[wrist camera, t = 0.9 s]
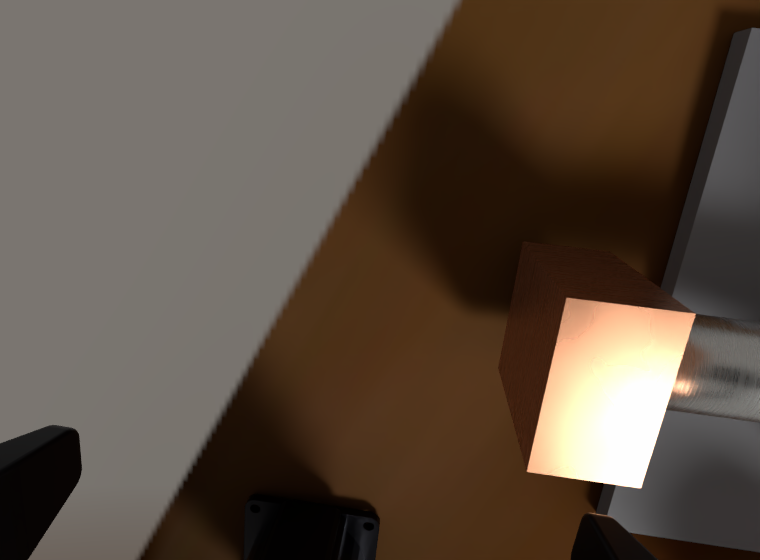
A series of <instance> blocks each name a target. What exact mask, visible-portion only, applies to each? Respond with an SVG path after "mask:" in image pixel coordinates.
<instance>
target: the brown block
mask: <svg viewBox="0 0 760 560" xmlns="http://www.w3.org/2000/svg"><path fill="white" fill-rule="evenodd" d="M498 369H499V373H500V376H501V380H502V383H503V387H504V391H505V394H506V398H507V402H508V405H509V409H510V412H511V416H512V420H513V423H514V427H515V431H516V434H517V438H518V442H519V445H520V449H521V452H522V456H523V460H524V463H525V467H526V471H527V472H532V473H539V474H546V475H553V476H560V477H566V478H573V479H580V480H587V481H594V482H601V483H607V484H614V485H621V486H628V487H635V488H641V486H642V483H643V480H644V477H645V473H646V470H647V467H648V464H649V461H650V458H651V455H652V451H653V448H654V445H655V442H656V439H657V436H658V432H659V429H660V426H661V423H662V420H663V417H664V413H665V410H670V411H677V412H684V413H692V414H699V415H706V416H714V417H721V418H728V419H735V420H743V421H750V422H757V423H760V322H757V321H749V320H741V319H733V318H725V317H717V316H709V315H701V314H695V313H694V312H693V311H691V310H690V309H689V308H687V307H686V306H684V305H683V304H682V303H680V302H679V301H677V300H676V299H675V298H673V297H672V296H671V295H669V294H668V293H666V292H665V291H664V290H662V289H661V288H659V287H658V286H657V285H655V284H654V283H653V282H651V281H650V280H648V279H647V278H646V277H644V276H643V275H641V274H640V273H639V272H637V271H636V270H635V269H633V268H632V267H630V266H629V265H628V264H626V263H625V262H623V261H622V260H621V259H619V258H618V257H617V256H615V255H614V254H612V253H611V252H609V251H601V250H592V249H584V248H576V247H567V246H559V245H551V244H542V243H534V242H525V241H523V243H522V248H521V253H520V258H519V264H518V269H517V274H516V279H515V284H514V290H513V295H512V300H511V305H510V310H509V315H508V321H507V326H506V331H505V336H504V341H503V346H502V352H501V357H500V362H499V367H498Z"/></svg>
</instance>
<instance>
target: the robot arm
mask: <svg viewBox="0 0 760 560" xmlns="http://www.w3.org/2000/svg"><path fill="white" fill-rule="evenodd" d="M81 471H82V464H81V452H80V440H79V434H78V432H77V431H76V430H75V429H73V428H69V427H63V426H57V425H51V426H47V427H44V428H41V429H39V430H36V431H33V432H30V433H28V434H25V435H22V436H19V437H17V438H14V439H11V440H8V441H6V442H3V443H0V560H28V558H29V557H30V555H31V554H32V552H33V551H34V549H35V548H36V546H37V545H38V543H39V541H40V540H41V539H42V537H43V536H44V534H45V532H46V531H47V529H48V528H49V526H50V525H51V523H52V522H53V520H54V519H55V517H56V516H57V514H58V513H59V511H60V509H61V508H62V506H63V505H64V503H65V502H66V500H67V499H68V497H69V496H70V494H71V493H72V491H73V489H74V488H75V486H76V485H77V483H78V481H79V479H80V476H81ZM254 504H256V505H258V506H259V507H256V506H255V505H254ZM366 522H370V523H372V524H367V523H366ZM379 525H380V518H379V517H378V515H377V514H375V513H373V512H369V511H363V510H356V509H350V508H343V507H337V506H330V505H324V504H317V503H311V502H304V501H298V500H291V499H285V498H278V497H272V496H265V495H259V494H254V495H252V496H250V497H249V499H248V501H247V503H246V505H245V530H244V560H375V557H376V549H377V541H378V533H379ZM571 560H658V559H657V558H656V557H655V556H653V555H652V554H651V553H650V552H649V551H648V550H647V549H646V548H645V547H644V546H643V545H642V544H641V543H640V542H639V541H638V540H636V539H635V538H634V537H633V536H632V535H631V534H630V533H629V532H628V531H627V530H626V529H625V528H624V527H623V526H622V525H621V524H620V523H618V522H617V521H616V520H615V519H614V518H612V517H610V516H607V515H601V514H595V513H586V514H584V516H583V517H582V519H581V522H580V525H579V529H578V532H577V535H576V539H575V542H574V545H573V549H572V552H571Z"/></svg>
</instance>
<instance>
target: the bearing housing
mask: <svg viewBox="0 0 760 560" xmlns="http://www.w3.org/2000/svg"><path fill="white" fill-rule="evenodd" d="M661 289H662V290H664V291H665V292H666V293H668V294H669V295H671V296H672V297H673V298H675V299H676V300H677V301H679V302H680V303H682V304H683V305H684V306H686V307H687V308H689V309H690V310H691V311H693V312H694V313H695V314H701V315H709V316H717V317H725V318H733V319H741V320H749V321H757V322H760V28H749V29H746V30H742V31H739V32H736V33H734V35H733V38H732V41H731V45H730V48H729V52H728V55H727V59H726V62H725V66H724V69H723V73H722V76H721V80H720V83H719V87H718V90H717V94H716V97H715V101H714V104H713V107H712V111H711V114H710V118H709V121H708V125H707V128H706V132H705V135H704V139H703V142H702V146H701V149H700V153H699V156H698V160H697V163H696V167H695V170H694V173H693V177H692V180H691V184H690V187H689V191H688V194H687V198H686V201H685V205H684V208H683V212H682V215H681V219H680V222H679V226H678V229H677V232H676V236H675V239H674V243H673V246H672V250H671V253H670V257H669V260H668V264H667V267H666V271H665V274H664V278H663V281H662V285H661ZM596 513H597V514H601V515H607V516H610V517H612V518H614V519H615V520H616V521H617V522H618V523H620V524H621V525H622V526H623V527H624V528H625V529H626V530H627V531H628V532H629V533H636V534H642V535H649V536H656V537H662V538H669V539H675V540H682V541H688V542H695V543H702V544H708V545H715V546H721V547H728V548H735V549H741V550H748V551H754V552H760V423H757V422H750V421H743V420H735V419H728V418H721V417H714V416H706V415H699V414H692V413H684V412H677V411H670V410H665V413H664V417H663V420H662V423H661V426H660V429H659V432H658V436H657V439H656V442H655V445H654V448H653V451H652V455H651V458H650V461H649V464H648V467H647V470H646V473H645V477H644V480H643V483H642V486H641V488H635V487H628V486H621V485H614V484H607V483H604V486H603V489H602V493H601V496H600V500H599V503H598V507H597V510H596Z"/></svg>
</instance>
